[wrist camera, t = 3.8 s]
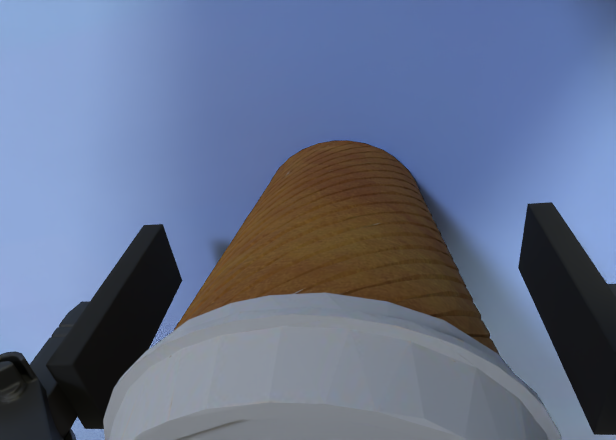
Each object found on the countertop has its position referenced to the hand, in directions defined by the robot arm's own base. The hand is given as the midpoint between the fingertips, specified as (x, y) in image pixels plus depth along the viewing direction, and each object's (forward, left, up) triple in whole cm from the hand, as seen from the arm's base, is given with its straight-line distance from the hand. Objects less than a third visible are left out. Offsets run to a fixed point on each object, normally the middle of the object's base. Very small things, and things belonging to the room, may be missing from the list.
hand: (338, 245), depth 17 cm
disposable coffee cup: (0, 0, -2) cm, 2 cm away
